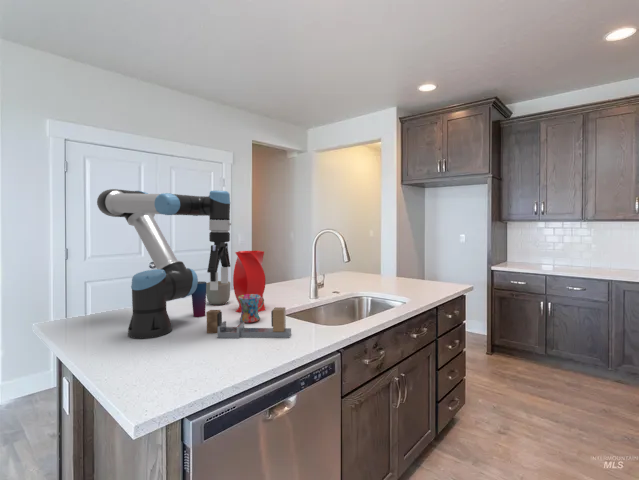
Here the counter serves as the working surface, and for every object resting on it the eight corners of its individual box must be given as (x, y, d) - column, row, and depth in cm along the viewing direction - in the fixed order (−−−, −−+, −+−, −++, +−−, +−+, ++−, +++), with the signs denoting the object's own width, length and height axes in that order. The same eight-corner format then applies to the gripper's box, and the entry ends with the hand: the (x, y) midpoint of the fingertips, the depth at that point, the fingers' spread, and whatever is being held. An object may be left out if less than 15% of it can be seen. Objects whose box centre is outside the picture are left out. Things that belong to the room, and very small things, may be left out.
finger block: (207, 333, 134) (206, 312, 133) (210, 330, 138) (210, 309, 137) (218, 333, 133) (218, 312, 133) (222, 330, 137) (222, 309, 137)
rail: (217, 338, 128) (216, 310, 127) (223, 331, 135) (223, 306, 134) (288, 338, 126) (288, 311, 126) (291, 332, 133) (291, 306, 133)
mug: (246, 325, 143) (246, 299, 143) (234, 321, 150) (233, 296, 149) (270, 319, 152) (270, 295, 151) (257, 315, 158) (257, 292, 158)
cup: (188, 316, 157) (187, 283, 157) (198, 313, 164) (197, 281, 163) (200, 318, 155) (199, 284, 154) (210, 314, 161) (209, 281, 160)
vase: (242, 315, 160) (241, 253, 158) (228, 309, 171) (227, 251, 170) (271, 309, 169) (270, 251, 168) (256, 304, 180) (255, 249, 179)
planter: (204, 302, 186) (204, 282, 186) (228, 300, 191) (228, 280, 191) (207, 307, 175) (207, 285, 174) (232, 304, 180) (232, 283, 180)
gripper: (219, 232, 122) (219, 293, 124) (237, 230, 147) (237, 281, 149) (198, 232, 123) (198, 293, 124) (219, 230, 147) (219, 280, 149)
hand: (219, 286), depth 136 cm, fingers open, 13 cm apart
